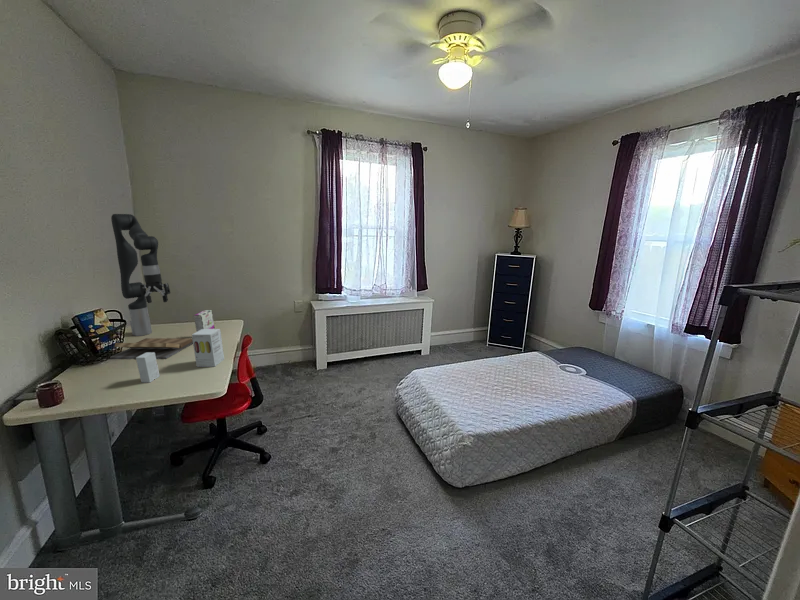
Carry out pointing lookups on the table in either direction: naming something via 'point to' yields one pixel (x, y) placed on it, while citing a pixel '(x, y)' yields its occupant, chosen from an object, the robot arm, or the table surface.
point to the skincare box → (147, 367)
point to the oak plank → (147, 345)
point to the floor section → (159, 352)
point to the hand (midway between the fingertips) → (157, 302)
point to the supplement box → (208, 347)
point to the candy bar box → (204, 320)
